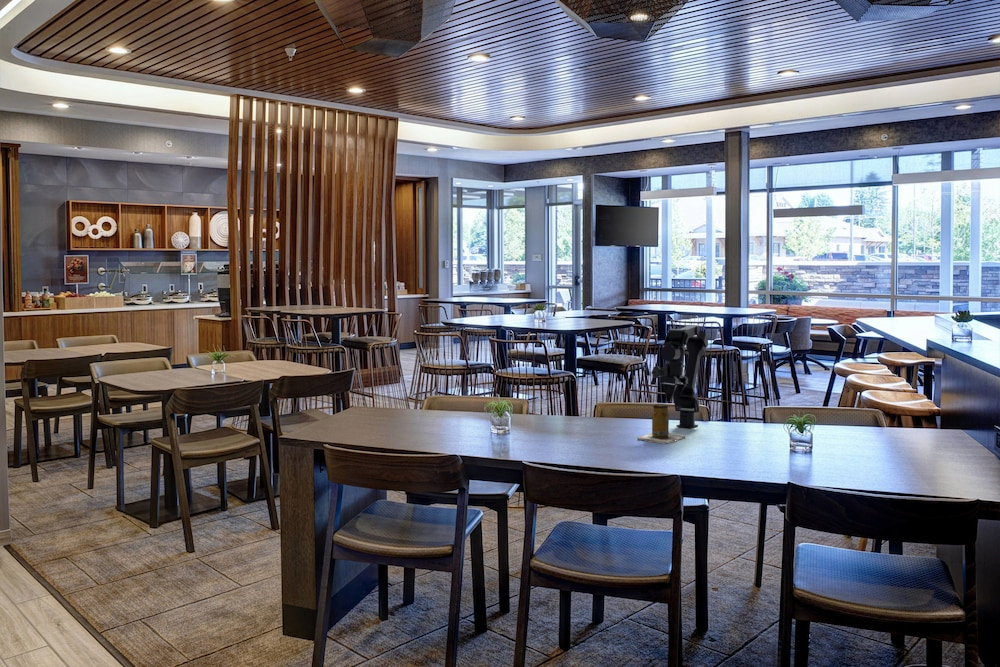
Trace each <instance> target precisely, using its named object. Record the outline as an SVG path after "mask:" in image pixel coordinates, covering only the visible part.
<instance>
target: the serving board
mask: <svg viewBox="0 0 1000 667" xmlns="http://www.w3.org/2000/svg"><path fill="white" fill-rule="evenodd" d="M647 436H652V433H650V434H644V435H642V436H638V437H637V438H636V440H637V439H639V440H638V441H642V440H646V441H645V442H648V441H651V442H650V443H654V442H657V443H656V444H661V443H664V444H663V445H667V444H666V443H668V444H670V443H669V442H671V443H674V442H676V441H675V440H678V441H680V440H679V439H681V440H683V439H682V438H684V439H686V435H681V434H674V433H669V435H668V436H674V437H676V438H673V439H667V440H664V439H658V438H651V437H647ZM673 441H674V442H673Z"/></svg>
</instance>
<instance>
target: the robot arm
mask: <svg viewBox="0 0 1000 667" xmlns="http://www.w3.org/2000/svg"><path fill="white" fill-rule="evenodd" d="M708 346H709V340H708V336H707V334H706V333H705V332H704V331H703V330H701V328H700V326H698V325H695V324H694V325H693V324H692V325H691V324H688V325H686V326H684V327H682V328H670V329H668V331H667V332H666V335H665V339H664V342H663V348H661V351H660V356H661V358H662V359H663V360H664V361H667V362H666V363H665V366H663V367H660V366H659V365H657V366H653V368H652V370H651V375H652V376H653V378H654V379H655V378H656V379H658V382H659V384H660V385H662V387H663V388H664V394H665V398H666V400H665V401H666V403H670V402H671V400H672V398H673V402H674V409H675V411H674V412H679V424H676V427H678V426H679V427H678V428H685V427H687V428H686V429H693V428H696V427H698V426H699V424H696V423H695V422H696V421H695V419H696V416H695V415H696V414H697V413H700V409H701V408H700V407H701V406H700V403H699V401H698V396H697V393H696V391H695V386H696V380H697V376H698V370H699V366H700V360H701V357H703V355H704V354H705V353H706V350H707V348H708ZM686 350H687V353H688V357H687V361H686V362H687V363H686V365H685V364H684V362H685V351H686ZM684 368H685V371H684V375H683V370H684ZM695 426H696V427H695ZM692 427H693V428H692Z"/></svg>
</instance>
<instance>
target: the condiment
mask: <svg viewBox="0 0 1000 667" xmlns="http://www.w3.org/2000/svg"><path fill="white" fill-rule="evenodd" d="M652 407H653V411H652V416H651V429H652V430H651V434H652V436H647V437H651V438H658V439H664V440H667V439H673V438H676V437H674V436H668V435H669V434H670V432H669V430H670V428H669V427H670V426H669V424H670V422H669V419H670V416H669V414H670V413H669V412H668V411H669V409H668V408H669V406H668V405H667V404H661V403H659V404H658V403H657V404H653V406H652Z"/></svg>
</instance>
